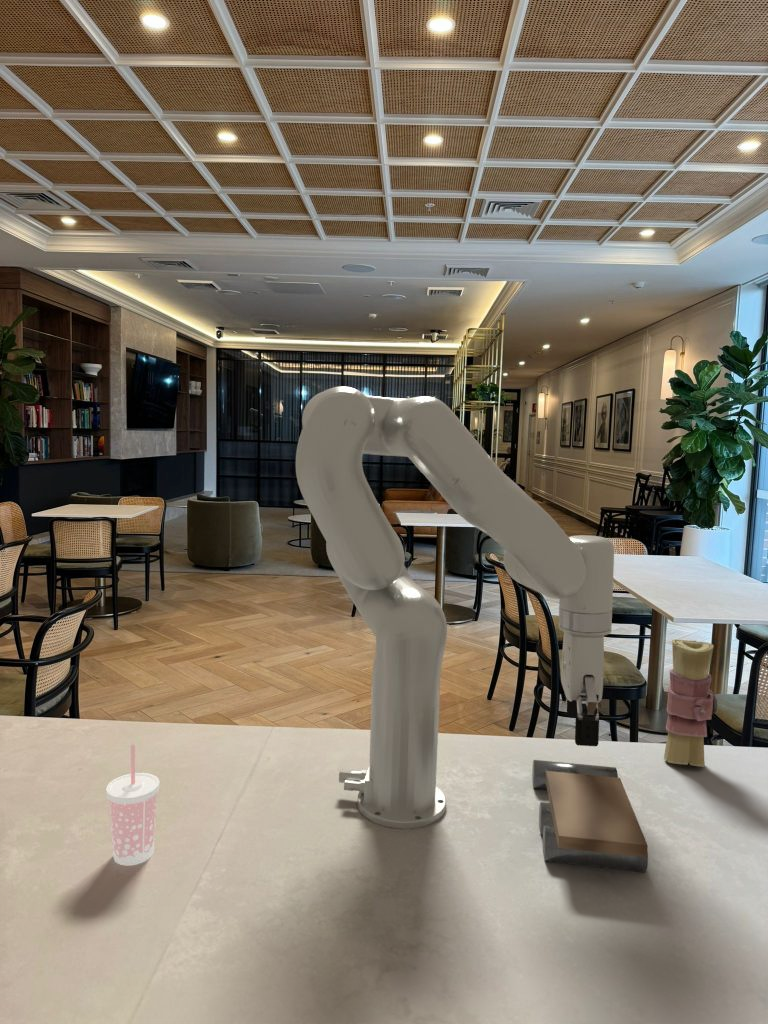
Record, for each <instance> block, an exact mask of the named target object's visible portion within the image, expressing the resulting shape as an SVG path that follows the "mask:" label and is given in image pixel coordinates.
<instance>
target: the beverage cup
mask: <svg viewBox="0 0 768 1024" xmlns="http://www.w3.org/2000/svg"><path fill="white" fill-rule="evenodd" d="M160 781H161V780H160V779H159V778H158V776H156V775H154V774H152V773H146V772H136V744H131V745H130V773H128V774H124V775H121V776H119V777H116V778H113V779H112V780H111V781H110V782H109V783H108V784H107V786H106V789H105V793H106V795H105V796H106V798H107V799H108V806H109V819H110V829H111V830H110V831H111V841H112V853H113V860H114V862H115V863H116V864H117V865H121V866H126V867H127V866H136V865H140V864H143V863H144V862H147V861H148V860H150V859H151V857H152V856H153V855H154V851H155V831H156V817H157V802H158V793H159V792H160V791H159V790H160V785H161V784H160V783H161V782H160Z"/></svg>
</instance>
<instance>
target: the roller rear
mask: <svg viewBox="0 0 768 1024" xmlns="http://www.w3.org/2000/svg"><path fill="white" fill-rule="evenodd" d="M538 806H539V807H538V809H539V810H538V828H539V834H540V836H541V835H542V836H543V828H544V826H552V827H554V823H553V818H552V813H551V807H550V802H543V801H540V802H539V805H538Z"/></svg>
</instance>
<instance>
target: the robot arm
mask: <svg viewBox="0 0 768 1024" xmlns="http://www.w3.org/2000/svg"><path fill="white" fill-rule="evenodd" d="M301 423H302V424H301V425H302V430H301V432H300V436H299V438H298V441H297V446H296V453H295V474H296V475H295V476H296V479H297V485H298V487H299V490H300V493H301V495H302V498H303V499H304V502H305V503H306V507H307V508H308V509H309V511H310V514H311V515H312V517H313V519H314V520H315V523H316V525H317V528H318V529H319V531H320V532H321V535H322V536H323V538H324V540H325V541H326V543H325V546H326V548H325V549H326V555H327V557H328V560H329V562H330V564H331V566H332V568H333V570H334V572H335V573H336V575H337V577H338V579H339V580H340V582H341V583H342V585H343V587H344V589H345V590H346V593H348V594H347V595H348V596H349V598H350V599H351V601H352V602H353V604H354V606H355V607H356V609H357V611H358V613H359V614H360V616H361V618H362V619H363V621H364V623H365V624H366V625H367V627H368V628H369V630H371V632H372V634H373V636H374V637H375V655H374V660H373V666H372V673H371V690H370V691H371V692H370V698H371V701H370V702H371V703H370V704H371V705H370V707H371V709H370V735H369V736H370V737H369V738H370V739H369V766H368V768H362V769H361V770H354V769H350V768H340V770H339V773H338V782H339V783H340V784H341V783H342V784H343V790H344V791H350V792H353V791H354V792H358V794H357V803H356V804H357V808H358V810H359V812H360V813H361V814H362V815H363V817H365V818H366V819H368V820H369V821H371V822H372V823H373V824H377V825H380V826H384V827H387V828H391V829H392V828H393V829H400V830H402V829H406V830H409V829H410V830H412V829H418V828H422V827H423V828H424V827H426V826H430V825H432V824H434V823H436V822H438V821H439V820H440V819H441V818H442V817H444V814H445V812H446V809H447V798H446V795H445V793H443V791H442V790H441V789H440V788H439V787H438V786H437V770H438V769H437V765H438V742H439V721H440V720H439V719H440V718H439V717H440V687H441V677H442V675H441V673H442V666H443V658H444V654H445V650H446V645H447V638H448V637H447V636H448V625H447V624H448V623H447V619H446V615H445V613H444V611H443V608H442V606H441V604H440V603H439V602H438V600H437V599H436V598H435V597H434V596H433V595H432V594H431V593H429V592H428V591H427V590H425V589H424V588H422V587H421V586H420V585H418V583H415V581H414V580H413V578H412V577H411V575H410V573H409V571H408V569H407V567H406V566H405V558H406V557H405V551H404V546H403V544H402V541H401V539H400V537H399V536H398V534H397V532H396V531H395V530H394V528H393V526H392V525H391V523H390V521H389V519H388V518H387V516H386V515H385V512H384V511H383V509H382V507H381V506H380V504H379V502H378V500H377V499H376V497H375V495H374V493H373V491H372V488H371V486H370V484H369V481H368V480H367V477H366V476H365V473H364V468H363V455H374V456H375V455H377V456H390V457H392V456H393V457H406V458H408V459H409V460H410V461H411V462H412V463H413V464H414V466H415V467H416V468H417V469H418V470H419V472H420V473H422V474H423V476H425V478H426V479H427V480H428V481H429V482H430V484H431V485H432V486H433V487H434V488H435V489H436V490H437V492H438V493H439V494H440V496H441V498H443V499H444V500H445V502H447V504H448V505H449V506H450V508H452V509H453V511H454V512H455V513H457V514H458V515H459V516H460V517H461V518H463V519H464V520H465V521H466V522H467V523H468V524H471V525H472V526H473V527H474V528H476V529H478V530H479V531H481V532H482V533H484V534H486V535H487V536H489V537H490V538H491V539H493V540H494V541H495V542H496V543H498V544H499V546H501V547H502V548H503V549H504V554H503V565H504V569H505V571H506V573H507V574H508V575H509V577H511V579H512V580H514V581H515V582H517V583H518V584H521V585H523V586H524V587H526V588H528V589H531V590H533V591H535V592H537V593H539V594H541V595H543V596H545V597H547V598H550V599H555V600H558V601H559V603H558V605H559V606H558V629H559V631H561V632H563V641H562V656H561V667H560V668H561V670H560V682H561V686H562V689H563V691H564V695H565V698H566V716H567V717H568V718H575V725H574V727H575V729H574V733H575V734H574V743H575V745H576V746H580V747H581V746H584V747H597V746H599V743H600V741H599V740H600V739H599V736H600V735H599V734H600V719H599V718H600V716H599V715H600V714H599V704H598V703H600V702H602V698H603V693H604V692H603V691H604V667H605V666H604V664H605V663H604V662H605V660H604V658H605V657H604V654H605V649H604V647H605V645H604V643H605V641H604V640H605V636H608V635H610V634H611V633H612V626H613V624H612V622H613V621H612V619H613V598H614V597H613V594H614V592H613V591H614V571H615V570H614V569H615V568H614V567H615V547H614V544H613V542H612V541H611V540H610V539H609V538H606V537H603V536H598V535H588V534H587V535H586V534H585V535H583V534H582V535H581V534H580V535H571V536H569V535H567V534H566V532H565V531H564V529H563V528H561V526H560V525H559V524H558V523H557V521H556V520H555V519H554V518H553V517H552V516H551V515H550V514H549V513H548V512H547V511H546V510H545V509H544V508H543V507H542V506H541V505H540V504H539V503H537V502H536V501H535V500H534V499H533V498H532V497H531V496H529V494H527V493H526V492H525V491H524V490H523V489H522V488H521V487H520V486H519V485H518V484H517V483H516V482H514V480H512V479H511V478H510V477H509V476H507V474H505V473H504V472H503V470H502V469H501V468H500V467H499V466H498V465H497V464H496V463H495V461H494V460H493V459H492V457H491V456H490V455H489V454H488V453H487V451H486V450H485V449H484V448H483V447H482V446H481V444H480V443H479V442H478V441H477V440H476V438H475V437H474V436H473V435H472V433H471V432H470V431H469V429H467V427H466V426H465V425H464V424H463V423H462V421H461V420H460V419H459V417H458V416H457V415H456V414H455V413H454V411H453V410H452V409H451V408H450V407H449V406H448V405H447V404H446V403H445V402H444V401H442V400H440V399H438V398H437V397H432V396H428V395H427V396H426V395H424V396H422V395H421V396H415V397H409V398H402V397H401V398H399V397H383V396H373V395H366V394H364V393H363V392H362V391H360V390H359V389H356V388H354V387H350V386H342V385H341V386H333V387H331V388H328V389H325V390H324V391H322V392H319V393H317V394H315V395H314V396H312V398H311V399H309V401H307V404H306V405H305V407H304V409H303V412H302V417H301Z"/></svg>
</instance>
